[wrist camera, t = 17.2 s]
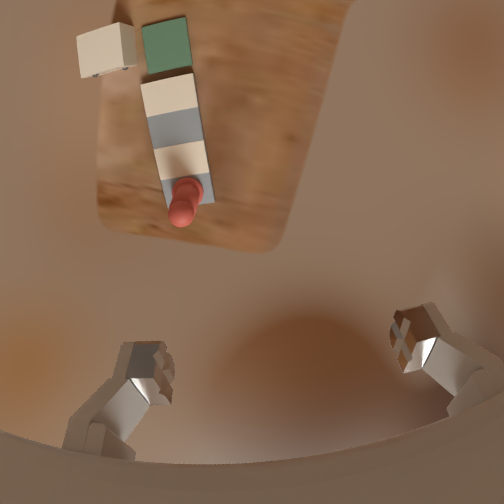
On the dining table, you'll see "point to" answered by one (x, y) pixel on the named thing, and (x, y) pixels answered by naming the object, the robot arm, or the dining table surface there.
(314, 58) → the dining table surface
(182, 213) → the pawn
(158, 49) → the mat
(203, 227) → the dining table surface
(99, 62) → the die
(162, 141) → the board
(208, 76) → the dining table surface
